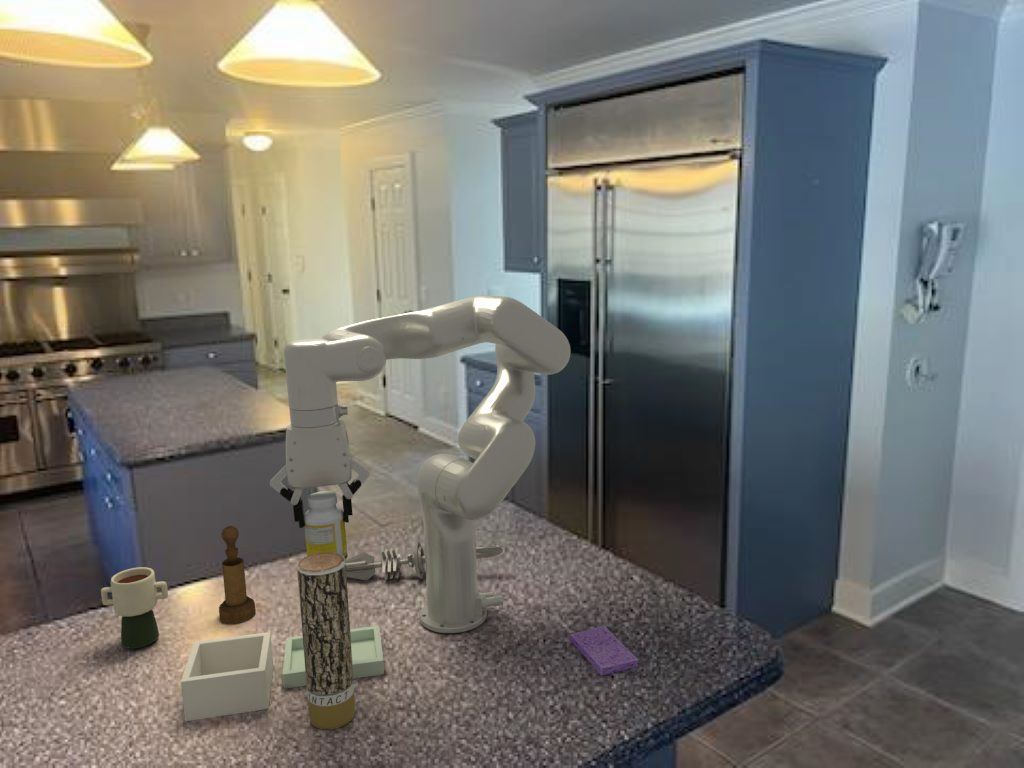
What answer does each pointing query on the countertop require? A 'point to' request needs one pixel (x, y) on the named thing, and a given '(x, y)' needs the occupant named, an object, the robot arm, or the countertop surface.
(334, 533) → the pill bottle
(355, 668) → the tray
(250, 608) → the mortar and pestle
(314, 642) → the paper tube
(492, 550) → the spaceship
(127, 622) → the character mug
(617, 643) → the sponges
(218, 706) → the cream square frame
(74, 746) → the countertop surface
